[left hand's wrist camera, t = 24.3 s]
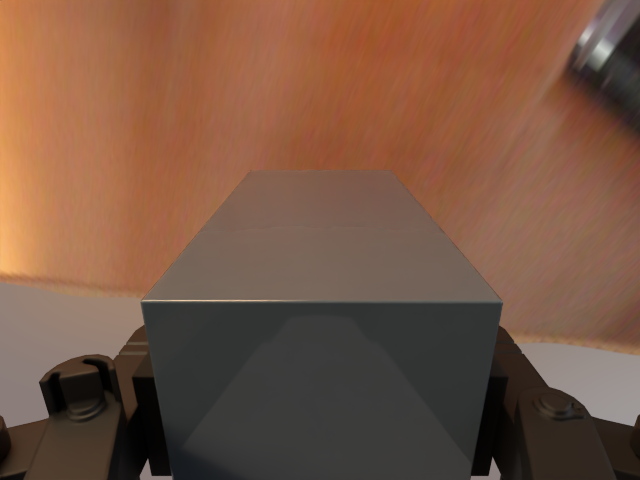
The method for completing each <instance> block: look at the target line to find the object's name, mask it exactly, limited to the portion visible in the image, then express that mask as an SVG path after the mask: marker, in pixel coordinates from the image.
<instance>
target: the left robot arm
mask: <svg viewBox="0 0 640 480" xmlns="http://www.w3.org/2000/svg"><path fill="white" fill-rule="evenodd" d="M39 384H40V387H41V391H42V394H43V397H44V400H45V404H46V407H47V410H48V413H49V418H47V419H44V420H41V421H36V422H32V423H28V424H23V425H19V426H14V427H10V428H7V427H6V424H5V422H4V419H3V417H2V416H0V480H140V474H141V472H142V470H143V467H144V465H145V463H146V461H147V459H148V460H149V464H150V470H151V474H152V476H172V474H171V468H170V462H169V457H168V451H167V446H166V440H165V435H164V429H163V424H162V418H161V413H160V407H159V402H158V396H157V391H156V385H155V379H154V374H153V368H152V363H151V357H150V352H149V346H148V341H147V335H146V330H145V325H143V326H142V327H140V328H139V329H137V330H136V331H135V332H134V333H133V335H132V336H131V337H130V339H129V340H128V342H127V343H126V345H124V347H123V348H122V349H121V351H120V352H119V355H117V356H116V357H115V358H114V360H112V359H111V358H110V357H108V356H104V355H99V354H96V355H84V356H80V357H76V358H73V359H70V360H68V361H65V362H63V363H61V364H59V365H57V366H56V367H54V368H53V369H51V370H50V371H49V372H47V373H46V374H45V375H44V377H43V378H42V379H41V380H40V382H39ZM492 456H493V458H494V461H495V463H496V465H497V467H498V469H499V471H500V473H501V476H500V480H640V415H638V417H637V420H636V423H635V426H634V427H633V426H629V425H625V424H620V423H616V422H611V421H607V420H603V419H599V418H595V417H592V416H591V415H590V414H589V412H588V411H587V409H586V408H585V406H584V405H582V404H581V403H580V402H579V401H578V400H576V399H575V398H574V397H572V396H570V395H568V394H566V393H564V392H563V391H561V390H557V389H554V388H550V387H549V386H548V385H547V384H546V383H545V381H544V380H543V379H542V377H541V376H540V375H539V373H538V372H537V371H536V369H535V368H534V367H533V366H532V364H531V363H530V362H529V360H528V359H527V358H526V356H525V355H524V354H522V351H521V350H520V348H519V347H518V346H517V344H514V341H513V339H512V338H511V337H510V335H509V334H508V333H507V331H506V330H505V329H504V328H502V327H501V326H499V327H498V332H497V337H496V343H495V348H494V354H493V359H492V365H491V370H490V375H489V381H488V386H487V392H486V397H485V402H484V408H483V413H482V419H481V424H480V429H479V435H478V440H477V446H476V451H475V457H474V462H473V467H472V473H471V476H488V475H489V471H490V466H491V461H492Z"/></svg>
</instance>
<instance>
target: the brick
mask: <svg viewBox="0 0 640 480" xmlns="http://www.w3.org/2000/svg"><path fill="white" fill-rule="evenodd" d="M502 305H503V302H502V300H501V299H500V297H499V296H498V295H497V294H496V293H495V291H494V290H493V289H492V288H491V287H490V286H489V284H488V283H487V282H486V281H485V280H484V279H483V277H482V276H481V275H480V274H479V273H478V271H477V270H476V269H475V268H474V267H473V266H472V264H471V263H470V262H469V261H468V260H467V258H466V257H465V256H464V255H463V254H462V253H461V251H460V250H459V249H458V248H457V247H456V246H455V244H454V243H453V242H452V241H451V240H450V238H449V237H448V236H447V235H446V234H445V233H444V231H443V230H442V229H441V228H440V227H439V225H438V224H437V223H436V222H435V221H434V220H433V218H432V217H431V216H430V215H429V214H428V213H427V211H426V210H425V209H424V208H423V207H422V205H421V204H420V203H419V202H418V201H417V200H416V198H415V197H414V196H413V195H412V194H411V193H410V191H409V190H408V189H407V188H406V187H405V185H404V184H403V183H402V182H401V181H400V180H399V178H398V177H397V176H396V175H395V174H394V172H393V171H392V170H250V171H249V172H248V174H247V175H246V176H245V177H244V178H243V180H242V181H241V182H240V183H239V184H238V186H237V187H236V188H235V189H234V190H233V191H232V193H231V194H230V195H229V196H228V197H227V199H226V200H225V201H224V202H223V203H222V205H221V206H220V207H219V208H218V209H217V211H216V212H215V213H214V214H213V215H212V217H211V218H210V219H209V220H208V221H207V222H206V224H205V225H204V226H203V227H202V228H201V230H200V231H199V232H198V233H197V234H196V236H195V237H194V238H193V239H192V240H191V242H190V243H189V244H188V245H187V246H186V248H185V249H184V250H183V251H182V252H181V253H180V255H179V256H178V257H177V258H176V259H175V261H174V262H173V263H172V264H171V265H170V267H169V268H168V269H167V270H166V271H165V273H164V274H163V275H162V276H161V277H160V279H159V280H158V281H157V282H156V283H155V285H154V286H153V287H152V288H151V289H150V290H149V292H148V293H147V294H146V295H145V296H144V298H143V299H142V300H141V308H142V313H143V319H144V324H145V330H146V335H147V341H148V346H149V352H150V357H151V363H152V368H153V374H154V379H155V385H156V391H157V396H158V402H159V407H160V413H161V418H162V424H163V429H164V435H165V440H166V446H167V451H168V457H169V462H170V468H171V474H172V479H173V480H470V478H471V473H472V467H473V462H474V457H475V451H476V446H477V440H478V435H479V429H480V424H481V419H482V413H483V408H484V402H485V397H486V392H487V386H488V381H489V375H490V370H491V365H492V359H493V354H494V348H495V343H496V337H497V332H498V327H499V321H500V316H501V310H502Z"/></svg>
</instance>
